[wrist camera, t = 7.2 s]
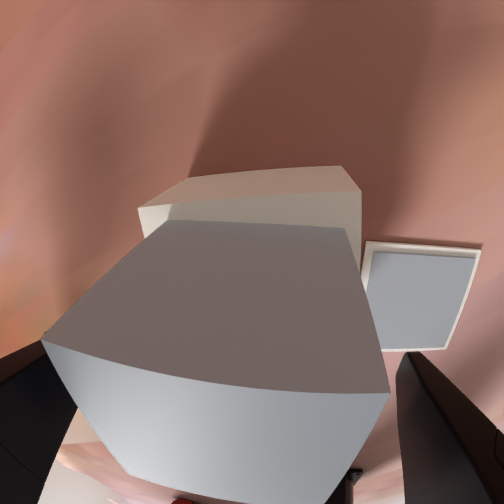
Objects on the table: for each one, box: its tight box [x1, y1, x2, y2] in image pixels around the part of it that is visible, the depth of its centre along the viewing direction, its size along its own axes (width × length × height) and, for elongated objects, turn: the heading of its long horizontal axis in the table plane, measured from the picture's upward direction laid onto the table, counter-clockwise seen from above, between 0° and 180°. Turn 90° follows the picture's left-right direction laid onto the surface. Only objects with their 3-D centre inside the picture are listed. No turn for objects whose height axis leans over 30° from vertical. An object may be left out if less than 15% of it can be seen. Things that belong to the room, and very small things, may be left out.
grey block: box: [40, 220, 391, 504], centre depth 8 cm, size 6×6×6 cm
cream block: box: [138, 166, 362, 273], centre depth 12 cm, size 7×7×5 cm
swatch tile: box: [360, 241, 481, 352], centre depth 14 cm, size 7×7×1 cm
